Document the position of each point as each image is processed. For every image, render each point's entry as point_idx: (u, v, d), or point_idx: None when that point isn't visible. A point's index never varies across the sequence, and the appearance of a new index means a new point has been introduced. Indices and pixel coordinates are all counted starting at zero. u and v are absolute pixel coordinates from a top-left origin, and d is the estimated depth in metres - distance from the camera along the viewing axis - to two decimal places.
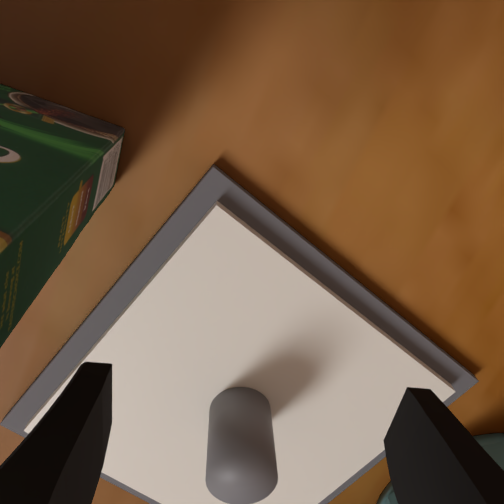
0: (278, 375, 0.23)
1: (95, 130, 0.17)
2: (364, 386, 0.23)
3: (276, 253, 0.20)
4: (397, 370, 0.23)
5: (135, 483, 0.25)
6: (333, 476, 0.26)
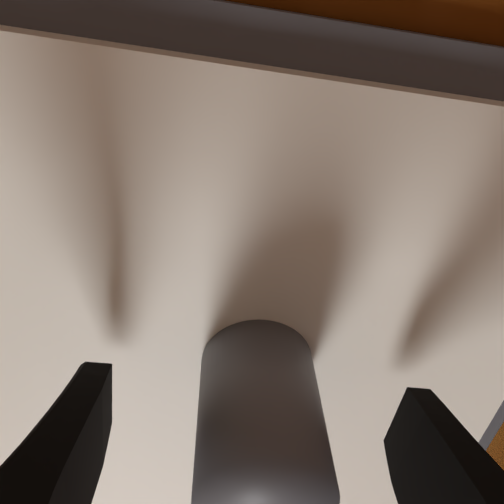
0: (275, 278, 0.12)
1: None
2: (450, 219, 0.11)
3: (93, 47, 0.09)
4: (503, 152, 0.10)
5: None
6: (483, 389, 0.14)
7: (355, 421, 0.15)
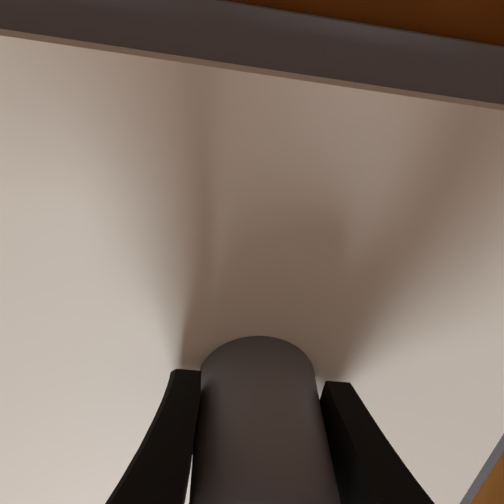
0: (276, 293, 0.11)
1: None
2: (461, 231, 0.10)
3: (80, 51, 0.08)
4: None
5: None
6: (493, 406, 0.13)
7: None
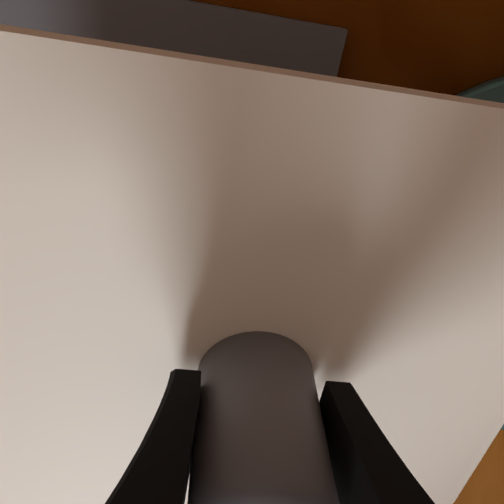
0: (275, 289, 0.11)
1: None
2: (458, 228, 0.11)
3: (81, 46, 0.08)
4: None
5: None
6: (490, 402, 0.14)
7: None
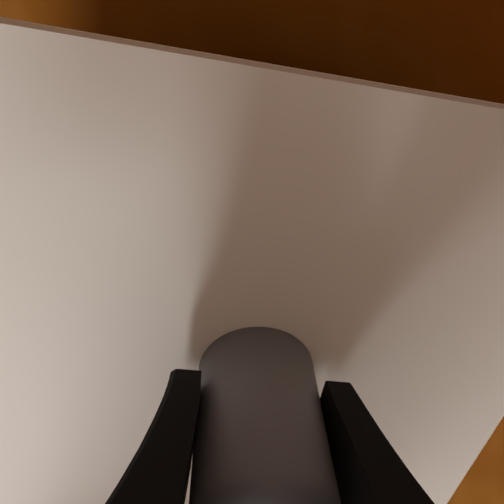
0: (277, 285, 0.11)
1: None
2: (459, 227, 0.11)
3: (91, 42, 0.08)
4: None
5: None
6: (487, 400, 0.14)
7: None
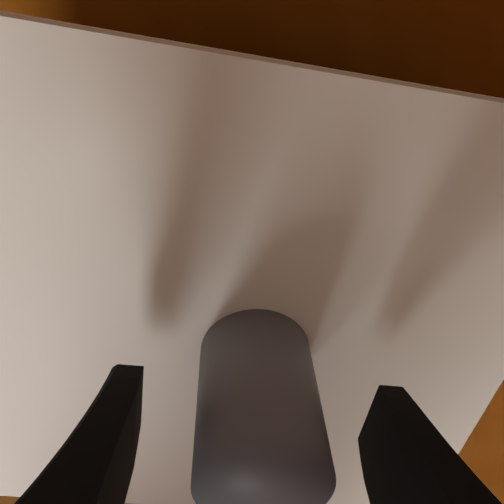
0: (275, 268, 0.12)
1: None
2: (447, 212, 0.11)
3: (101, 36, 0.09)
4: (499, 147, 0.11)
5: (186, 499, 0.17)
6: (476, 381, 0.14)
7: (350, 411, 0.15)
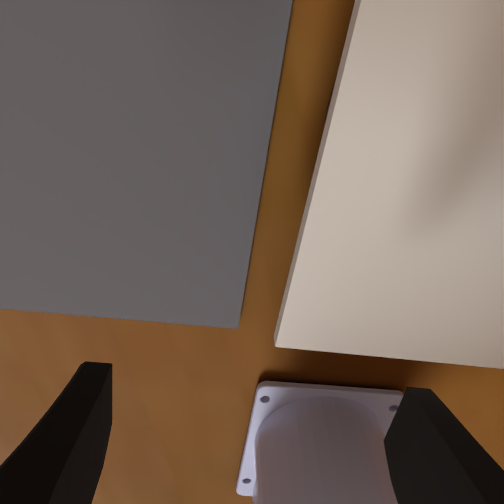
0: None
1: None
2: None
3: None
4: None
5: (444, 354, 0.18)
6: None
7: None
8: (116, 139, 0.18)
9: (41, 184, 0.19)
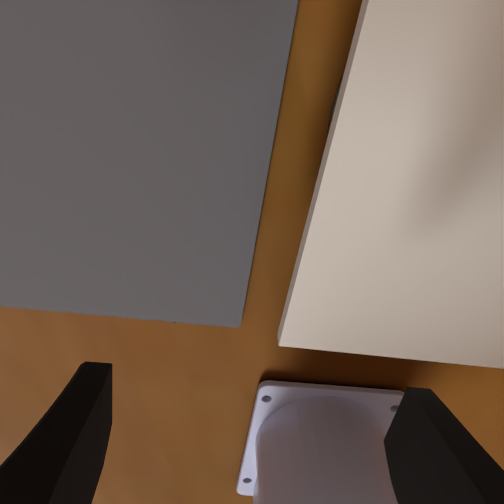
0: None
1: None
2: None
3: None
4: None
5: (447, 354, 0.18)
6: None
7: None
8: (120, 137, 0.18)
9: (45, 182, 0.19)
